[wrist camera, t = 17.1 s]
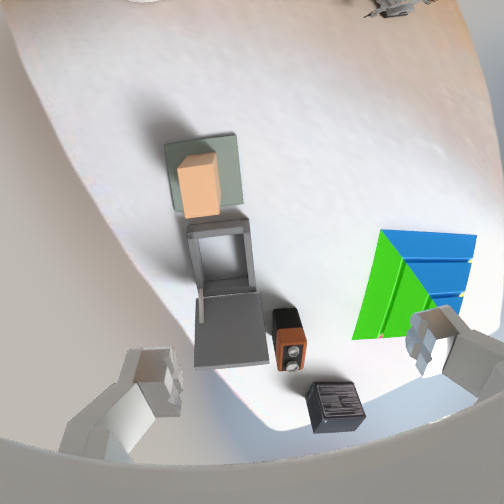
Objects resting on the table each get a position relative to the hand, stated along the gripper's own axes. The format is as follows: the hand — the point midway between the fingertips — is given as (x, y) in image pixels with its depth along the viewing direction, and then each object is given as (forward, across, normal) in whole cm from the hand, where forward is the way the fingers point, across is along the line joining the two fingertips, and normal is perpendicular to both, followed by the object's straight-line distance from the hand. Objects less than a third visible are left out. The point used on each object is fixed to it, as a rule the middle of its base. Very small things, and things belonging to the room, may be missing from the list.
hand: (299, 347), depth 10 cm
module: (+36, +6, +2) cm, 37 cm away
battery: (+37, -4, +30) cm, 48 cm away
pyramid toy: (+38, -31, +27) cm, 56 cm away
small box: (+37, -14, +53) cm, 66 cm away
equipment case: (+37, +5, +17) cm, 41 cm away
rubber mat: (+37, +6, +2) cm, 38 cm away
